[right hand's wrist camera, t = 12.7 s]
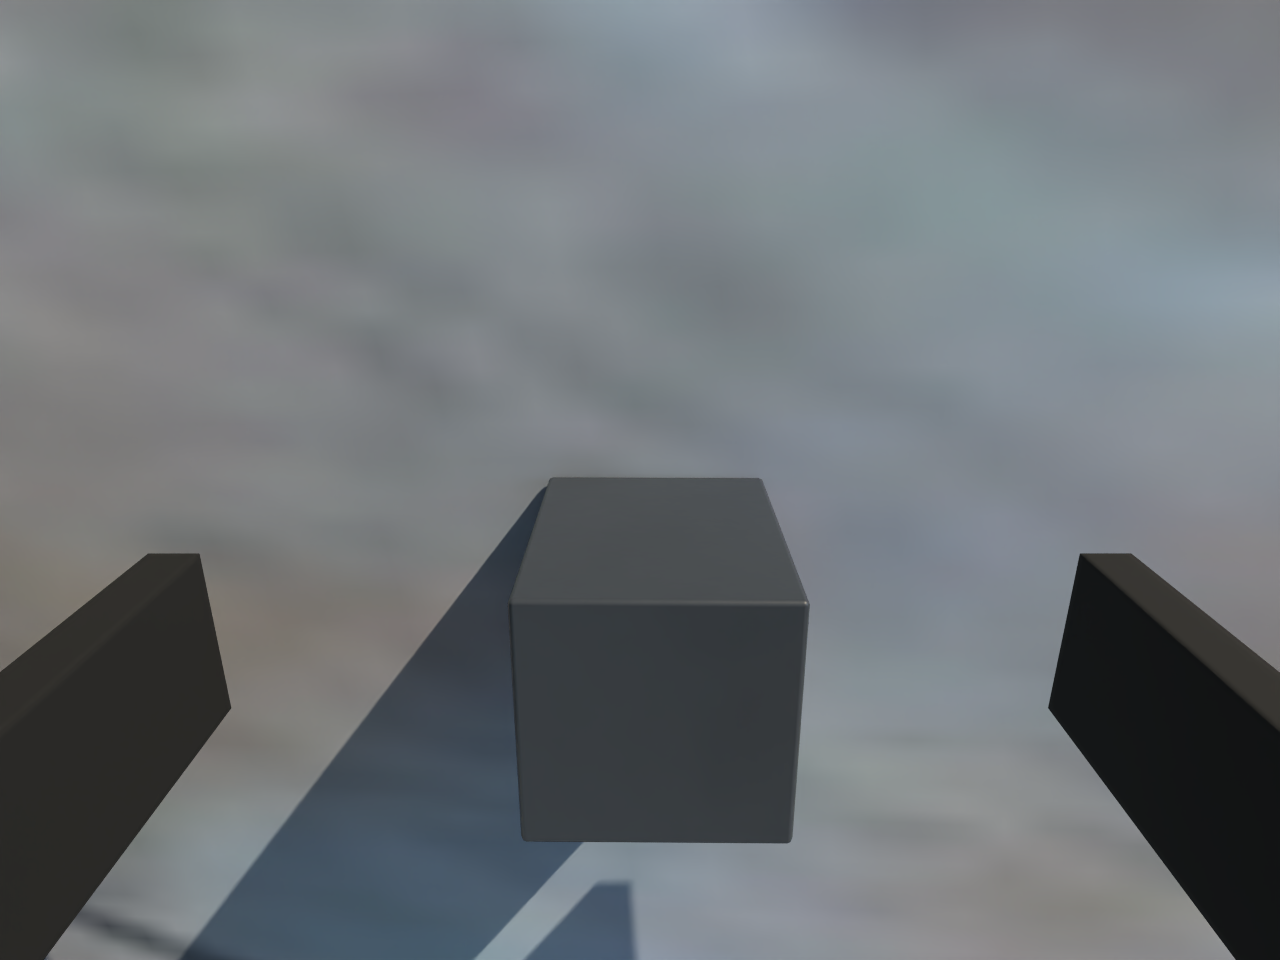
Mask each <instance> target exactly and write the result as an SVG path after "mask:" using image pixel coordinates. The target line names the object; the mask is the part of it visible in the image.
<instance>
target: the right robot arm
mask: <svg viewBox="0 0 1280 960" xmlns="http://www.w3.org/2000/svg"><path fill="white" fill-rule="evenodd" d="M1048 708H1049V710H1050V711H1051V712H1052V714H1053V715H1054V716H1055V718H1056V719H1057V720H1058V722H1059V723H1060V724H1061V726H1062V727H1063V729H1064V730H1065V731H1066V733H1067V734H1068V735H1069V737H1070V738H1071V739H1072V741H1073V742H1074V743H1075V745H1076V746H1077V747H1078V749H1079V750H1080V751H1081V753H1082V754H1083V755H1084V757H1085V758H1086V759H1087V761H1088V762H1089V763H1090V765H1091V766H1092V767H1093V769H1094V770H1095V771H1096V773H1097V774H1098V775H1099V777H1100V778H1101V779H1102V781H1103V782H1104V784H1105V785H1106V786H1107V788H1108V789H1109V790H1110V792H1111V793H1112V794H1113V796H1114V797H1115V798H1116V800H1117V801H1118V802H1119V804H1120V805H1121V806H1122V808H1123V809H1124V810H1125V812H1126V813H1127V814H1128V816H1129V817H1130V818H1131V820H1132V821H1133V822H1134V824H1135V825H1136V826H1137V828H1138V829H1139V830H1140V832H1141V833H1142V835H1143V836H1144V837H1145V839H1146V840H1147V841H1148V843H1149V844H1150V845H1151V847H1152V848H1153V849H1154V851H1155V852H1156V853H1157V855H1158V856H1159V857H1160V859H1161V860H1162V861H1163V863H1164V864H1165V865H1166V867H1167V868H1168V869H1169V871H1170V872H1171V873H1172V875H1173V876H1174V877H1175V879H1176V880H1177V881H1178V883H1179V884H1180V886H1181V887H1182V888H1183V890H1184V891H1185V892H1186V894H1187V895H1188V896H1189V898H1190V899H1191V900H1192V902H1193V903H1194V904H1195V906H1196V907H1197V908H1198V910H1199V911H1200V912H1201V914H1202V915H1203V916H1204V918H1205V919H1206V920H1207V922H1208V923H1209V924H1210V926H1211V927H1212V928H1213V930H1214V931H1215V932H1216V934H1217V935H1218V936H1219V938H1220V939H1221V941H1222V942H1223V943H1224V945H1225V946H1226V947H1227V949H1228V950H1229V951H1230V953H1231V954H1232V955H1233V957H1234V958H1235V959H1236V960H1280V672H1278V671H1277V670H1276V669H1275V668H1273V667H1272V666H1271V665H1270V664H1268V663H1267V662H1266V661H1265V660H1263V659H1262V658H1261V657H1260V656H1258V655H1257V654H1256V653H1255V652H1253V651H1252V650H1251V649H1250V648H1248V647H1247V646H1246V645H1245V644H1243V643H1242V642H1241V641H1240V640H1238V639H1237V638H1236V637H1235V636H1233V635H1232V634H1231V633H1230V632H1228V631H1227V630H1226V629H1225V628H1223V627H1222V626H1221V625H1220V624H1218V623H1217V622H1216V621H1215V620H1213V619H1212V618H1211V617H1210V616H1208V615H1207V614H1206V613H1205V612H1203V611H1202V610H1201V609H1200V608H1198V607H1197V606H1196V605H1195V604H1193V603H1192V602H1191V601H1190V600H1188V599H1187V598H1186V597H1185V596H1183V595H1182V594H1181V593H1180V592H1178V591H1177V590H1176V589H1175V588H1173V587H1172V586H1171V585H1170V584H1169V583H1167V582H1166V581H1165V580H1164V579H1162V578H1161V577H1160V576H1159V575H1157V574H1156V573H1155V572H1154V571H1152V570H1151V569H1150V568H1149V567H1147V566H1146V565H1145V564H1144V563H1142V562H1141V561H1140V560H1139V559H1137V558H1136V557H1135V556H1134V555H1132V554H1080V556H1079V561H1078V566H1077V571H1076V575H1075V580H1074V585H1073V590H1072V595H1071V600H1070V605H1069V609H1068V614H1067V619H1066V624H1065V629H1064V634H1063V639H1062V643H1061V648H1060V653H1059V658H1058V663H1057V668H1056V673H1055V677H1054V682H1053V687H1052V692H1051V697H1050V702H1049V707H1048ZM230 709H231V704H230V700H229V695H228V690H227V685H226V680H225V675H224V671H223V666H222V661H221V656H220V651H219V646H218V641H217V637H216V632H215V627H214V622H213V617H212V612H211V607H210V603H209V598H208V593H207V588H206V583H205V578H204V574H203V569H202V564H201V559H200V554H147V555H146V556H145V557H143V558H142V559H141V560H140V561H138V562H137V563H136V564H135V565H133V566H132V567H131V568H130V569H128V570H127V571H126V572H125V573H123V574H122V575H121V576H120V577H118V578H117V579H116V580H115V581H113V582H112V583H111V584H110V585H108V586H107V587H106V588H105V589H103V590H102V591H101V592H100V593H98V594H97V595H96V596H95V597H93V598H92V599H91V600H90V601H88V602H87V603H86V604H85V605H83V606H82V607H81V608H80V609H78V610H77V611H76V612H75V613H73V614H72V615H71V616H70V617H68V618H67V619H66V620H65V621H63V622H62V623H61V624H60V625H58V626H57V627H56V628H55V629H53V630H52V631H51V632H50V633H49V634H47V635H46V636H45V637H44V638H42V639H41V640H40V641H39V642H37V643H36V644H35V645H34V646H32V647H31V648H30V649H29V650H27V651H26V652H25V653H24V654H22V655H21V656H20V657H19V658H17V659H16V660H15V661H14V662H12V663H11V664H10V665H9V666H7V667H6V668H5V669H4V670H2V671H1V672H0V960H44V959H45V957H46V956H47V955H48V953H49V952H50V951H51V949H52V948H53V947H54V945H55V944H56V942H57V941H58V940H59V938H60V937H61V936H62V934H63V933H64V932H65V930H66V929H67V928H68V926H69V925H70V924H71V922H72V921H73V920H74V918H75V917H76V916H77V914H78V913H79V912H80V910H81V909H82V908H83V906H84V905H85V904H86V902H87V901H88V900H89V898H90V897H91V896H92V894H93V893H94V892H95V890H96V889H97V887H98V886H99V885H100V883H101V882H102V881H103V879H104V878H105V877H106V875H107V874H108V873H109V871H110V870H111V869H112V867H113V866H114V865H115V863H116V862H117V861H118V859H119V858H120V857H121V855H122V854H123V853H124V851H125V850H126V849H127V847H128V846H129V845H130V843H131V842H132V841H133V839H134V838H135V837H136V835H137V834H138V832H139V831H140V830H141V828H142V827H143V826H144V824H145V823H146V822H147V820H148V819H149V818H150V816H151V815H152V814H153V812H154V811H155V810H156V808H157V807H158V806H159V804H160V803H161V802H162V800H163V799H164V798H165V796H166V795H167V794H168V792H169V791H170V790H171V788H172V787H173V786H174V784H175V783H176V781H177V780H178V779H179V777H180V776H181V775H182V773H183V772H184V771H185V769H186V768H187V767H188V765H189V764H190V763H191V761H192V760H193V759H194V757H195V756H196V755H197V753H198V752H199V751H200V749H201V748H202V747H203V745H204V744H205V743H206V741H207V740H208V739H209V737H210V736H211V735H212V733H213V732H214V731H215V729H216V728H217V726H218V725H219V724H220V722H221V721H222V720H223V718H224V717H225V716H226V714H227V713H228V712H229V710H230Z"/></svg>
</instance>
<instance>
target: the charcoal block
mask: <svg viewBox="0 0 1280 960" xmlns="http://www.w3.org/2000/svg"><path fill="white" fill-rule="evenodd" d="M809 607H810V604H809V602H808V599H807V596H806V594H805V591H804V589H803V586H802V583H801V581H800V578H799V576H798V573H797V570H796V568H795V565H794V562H793V560H792V557H791V555H790V552H789V549H788V547H787V544H786V542H785V539H784V536H783V534H782V531H781V528H780V526H779V523H778V521H777V518H776V515H775V513H774V510H773V508H772V505H771V502H770V500H769V497H768V495H767V492H766V489H765V487H764V484H763V481H762V480H761V479H759V478H551V479H550V480H549V483H548V486H547V489H546V492H545V495H544V498H543V501H542V503H541V506H540V509H539V512H538V515H537V518H536V521H535V524H534V527H533V530H532V533H531V536H530V539H529V542H528V545H527V548H526V551H525V554H524V557H523V560H522V563H521V566H520V569H519V572H518V575H517V577H516V580H515V583H514V586H513V589H512V592H511V595H510V598H509V601H508V615H509V633H510V650H511V667H512V684H513V701H514V719H515V736H516V753H517V770H518V787H519V804H520V822H521V836H522V838H523V840H524V841H544V842H678V843H789V842H791V839H792V835H793V821H794V808H795V794H796V781H797V768H798V754H799V741H800V727H801V714H802V701H803V687H804V674H805V660H806V647H807V634H808V620H809Z"/></svg>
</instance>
